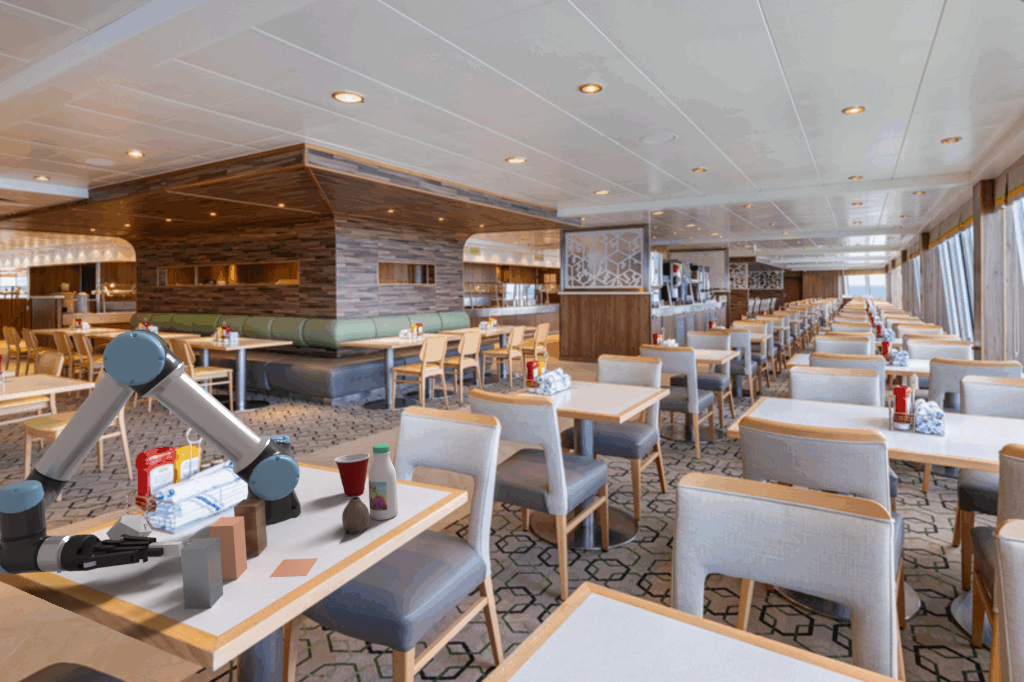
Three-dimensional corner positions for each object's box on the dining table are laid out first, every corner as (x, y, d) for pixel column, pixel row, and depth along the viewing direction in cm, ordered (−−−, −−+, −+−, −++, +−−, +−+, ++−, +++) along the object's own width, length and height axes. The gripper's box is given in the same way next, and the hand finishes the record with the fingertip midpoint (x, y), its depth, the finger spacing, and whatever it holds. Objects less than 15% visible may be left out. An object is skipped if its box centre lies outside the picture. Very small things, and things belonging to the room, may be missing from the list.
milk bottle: (388, 507, 161) (385, 440, 159) (403, 514, 155) (400, 445, 154) (364, 515, 155) (361, 446, 154) (379, 523, 150) (376, 450, 148)
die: (118, 560, 133) (145, 524, 135) (91, 541, 134) (118, 506, 137) (140, 557, 141) (165, 523, 143) (114, 539, 142) (139, 505, 144)
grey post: (184, 608, 108) (180, 549, 107) (198, 595, 113) (194, 538, 112) (210, 607, 108) (206, 548, 108) (223, 594, 113) (219, 537, 113)
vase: (355, 538, 140) (353, 505, 140) (337, 532, 144) (335, 500, 143) (375, 528, 146) (374, 496, 146) (357, 523, 150) (355, 492, 149)
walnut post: (237, 556, 130) (233, 507, 129) (246, 547, 135) (243, 499, 134) (258, 555, 130) (255, 506, 129) (267, 546, 135) (264, 498, 134)
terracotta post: (213, 580, 119) (209, 526, 118) (224, 568, 124) (221, 517, 123) (236, 579, 119) (233, 525, 118) (247, 568, 124) (243, 516, 123)
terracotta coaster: (283, 562, 128) (283, 559, 128) (318, 561, 128) (318, 558, 128) (269, 580, 120) (269, 576, 120) (306, 578, 120) (306, 575, 120)
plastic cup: (361, 485, 181) (360, 449, 180) (378, 493, 173) (376, 455, 172) (330, 493, 174) (328, 456, 173) (345, 502, 166) (343, 463, 165)
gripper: (94, 555, 127) (198, 551, 128) (48, 584, 114) (164, 580, 115) (91, 524, 127) (196, 520, 127) (45, 549, 114) (162, 545, 114)
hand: (181, 548), depth 121 cm, fingers closed
